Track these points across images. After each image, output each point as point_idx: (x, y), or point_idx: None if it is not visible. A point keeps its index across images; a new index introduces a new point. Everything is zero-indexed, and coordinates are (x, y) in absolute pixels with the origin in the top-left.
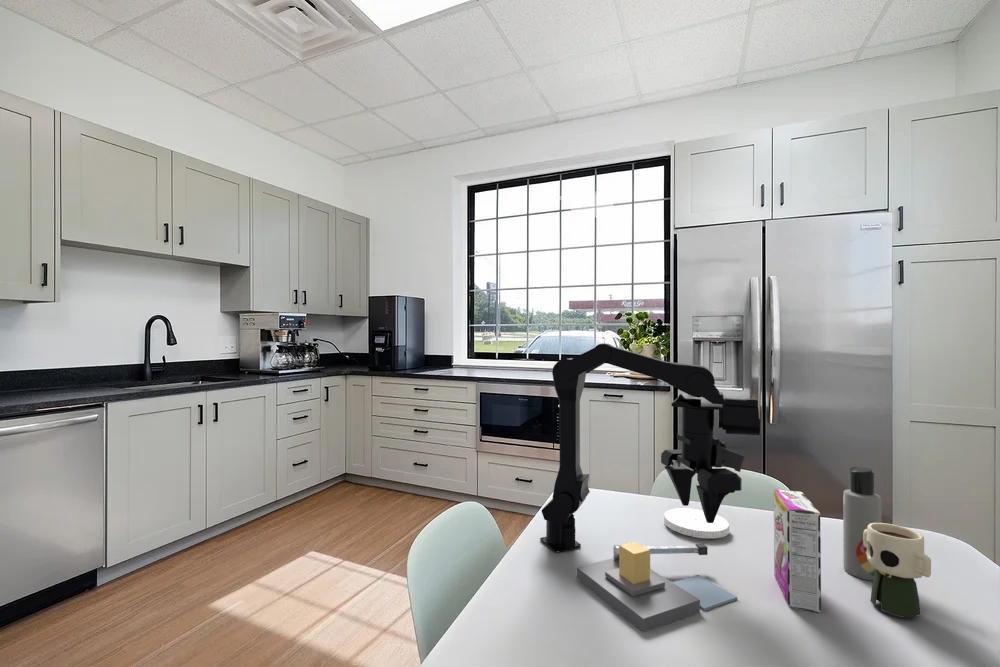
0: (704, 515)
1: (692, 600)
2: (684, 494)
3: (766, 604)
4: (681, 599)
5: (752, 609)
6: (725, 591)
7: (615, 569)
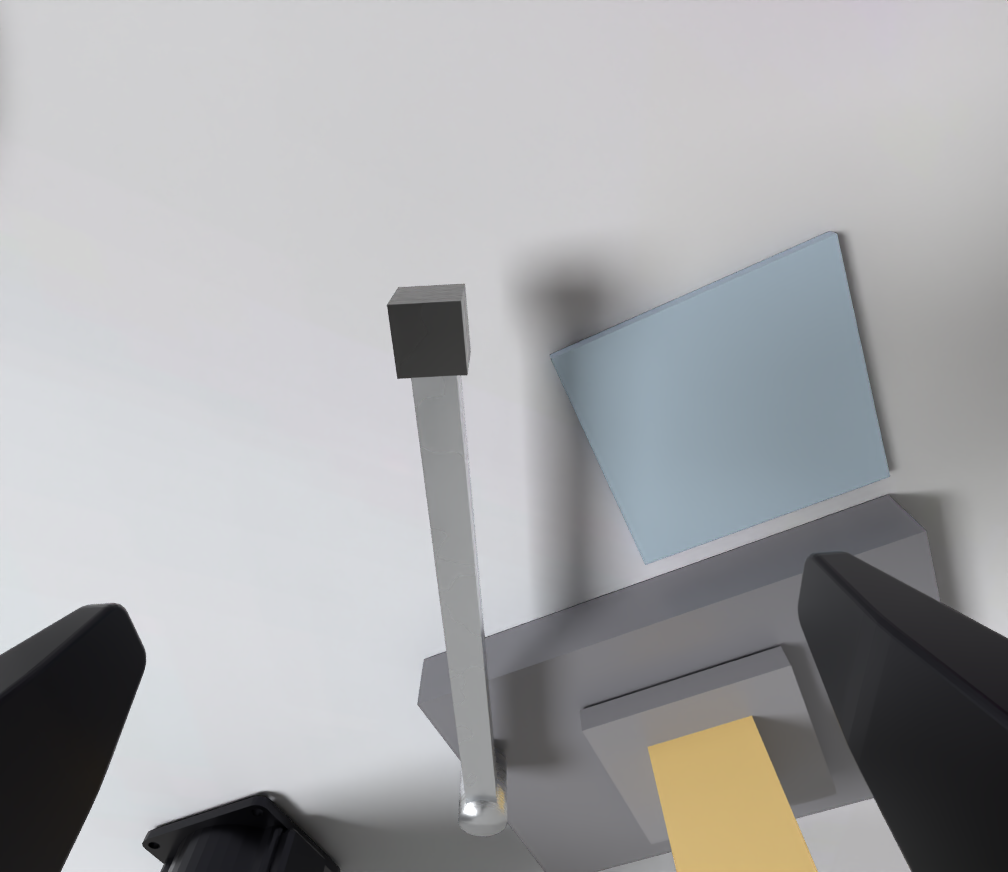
0: (841, 724)
1: (918, 565)
2: (18, 815)
3: (929, 45)
4: None
5: (947, 191)
6: (764, 280)
7: (634, 810)
